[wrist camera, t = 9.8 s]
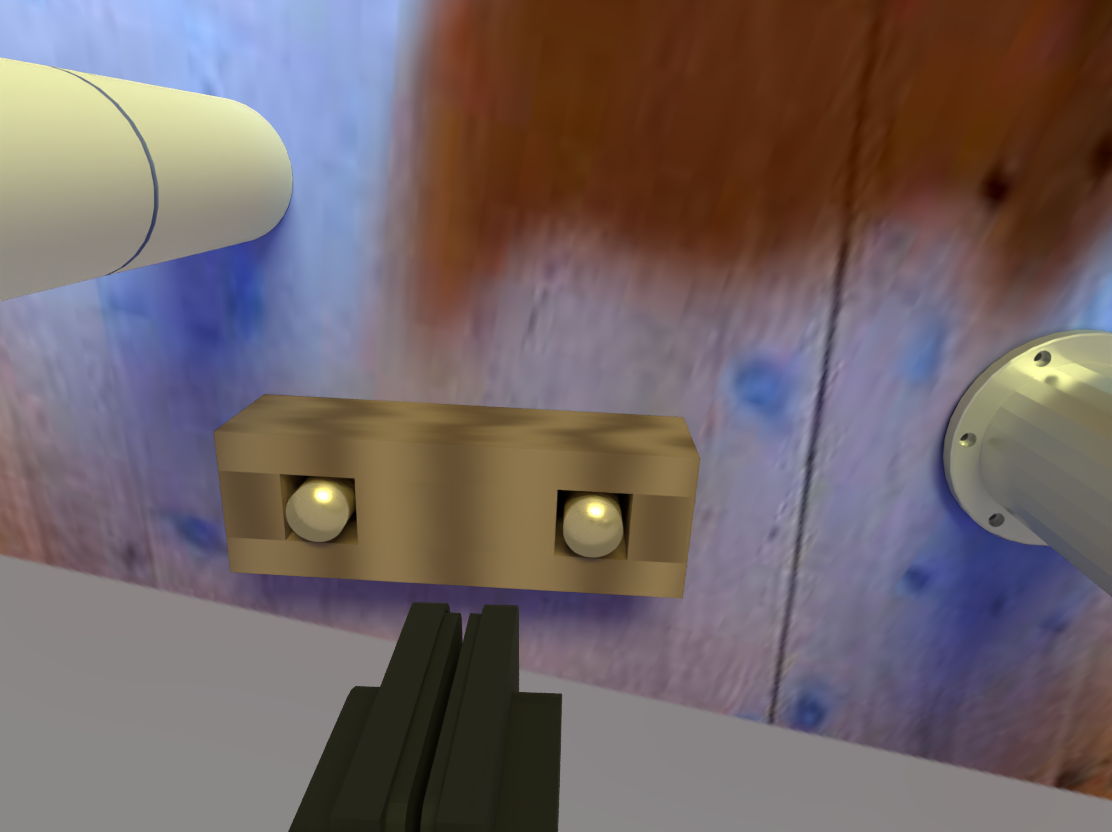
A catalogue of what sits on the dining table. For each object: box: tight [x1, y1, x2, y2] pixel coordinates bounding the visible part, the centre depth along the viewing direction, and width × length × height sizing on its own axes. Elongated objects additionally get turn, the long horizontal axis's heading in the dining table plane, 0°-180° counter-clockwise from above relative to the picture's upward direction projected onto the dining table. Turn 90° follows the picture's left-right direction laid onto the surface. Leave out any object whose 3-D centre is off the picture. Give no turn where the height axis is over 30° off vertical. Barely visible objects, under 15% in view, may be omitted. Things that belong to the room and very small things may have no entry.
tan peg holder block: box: [214, 394, 700, 598], centre depth 39 cm, size 24×8×6 cm, turn 87°
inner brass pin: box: [563, 490, 623, 557], centre depth 39 cm, size 3×3×6 cm
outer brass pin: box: [286, 476, 356, 542], centre depth 39 cm, size 3×3×6 cm
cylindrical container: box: [0, 58, 293, 301], centre depth 25 cm, size 7×7×25 cm
